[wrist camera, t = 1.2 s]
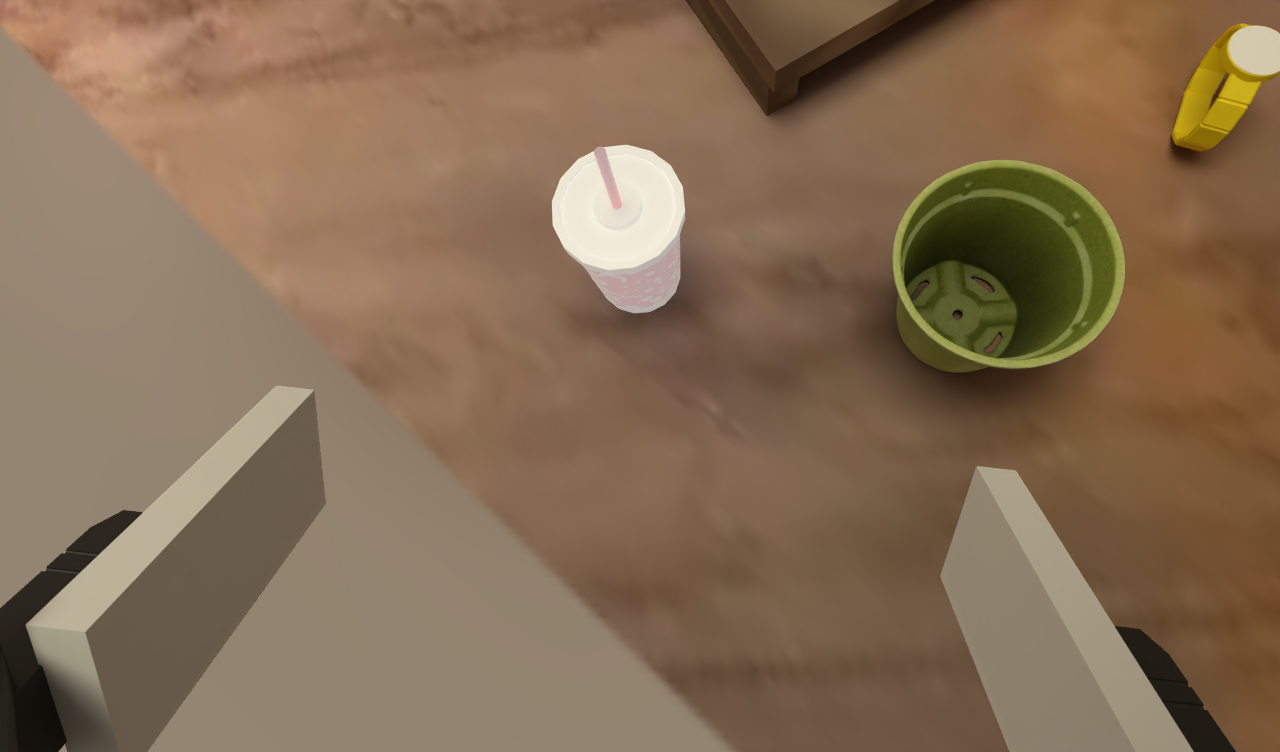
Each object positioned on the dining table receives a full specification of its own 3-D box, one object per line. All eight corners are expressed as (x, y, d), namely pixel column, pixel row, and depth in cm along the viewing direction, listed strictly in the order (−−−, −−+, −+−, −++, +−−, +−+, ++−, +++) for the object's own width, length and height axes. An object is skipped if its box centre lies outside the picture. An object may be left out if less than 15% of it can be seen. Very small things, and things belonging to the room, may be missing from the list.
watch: (1174, 69, 45) (1242, -11, 39) (1227, 82, 44) (1303, 3, 39) (1149, 158, 43) (1216, 89, 38) (1203, 174, 43) (1279, 106, 37)
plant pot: (977, 442, 41) (1040, 412, 33) (827, 333, 43) (849, 279, 35) (1083, 303, 42) (1171, 240, 34) (931, 203, 44) (977, 120, 36)
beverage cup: (564, 267, 46) (493, 145, 32) (649, 202, 46) (614, 53, 33) (629, 348, 44) (583, 255, 31) (716, 280, 45) (709, 159, 31)
